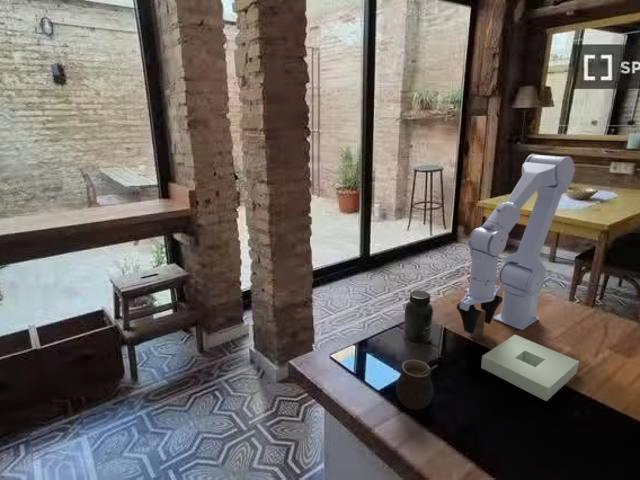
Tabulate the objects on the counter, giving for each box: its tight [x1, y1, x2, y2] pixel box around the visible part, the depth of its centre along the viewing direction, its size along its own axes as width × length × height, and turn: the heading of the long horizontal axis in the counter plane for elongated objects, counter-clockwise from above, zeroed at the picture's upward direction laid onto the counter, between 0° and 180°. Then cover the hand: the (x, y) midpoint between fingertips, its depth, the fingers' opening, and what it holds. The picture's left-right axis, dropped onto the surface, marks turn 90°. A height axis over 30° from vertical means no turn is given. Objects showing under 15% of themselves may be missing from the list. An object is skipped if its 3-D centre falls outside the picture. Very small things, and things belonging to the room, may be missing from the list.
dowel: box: [469, 308, 486, 340], centre depth 100 cm, size 3×3×7 cm
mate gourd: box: [395, 359, 438, 411], centre depth 77 cm, size 7×8×10 cm
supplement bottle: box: [403, 290, 434, 345], centre depth 99 cm, size 7×7×12 cm
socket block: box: [480, 334, 580, 402], centre depth 87 cm, size 14×14×3 cm
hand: (477, 326), depth 100 cm, fingers open, 7 cm apart
